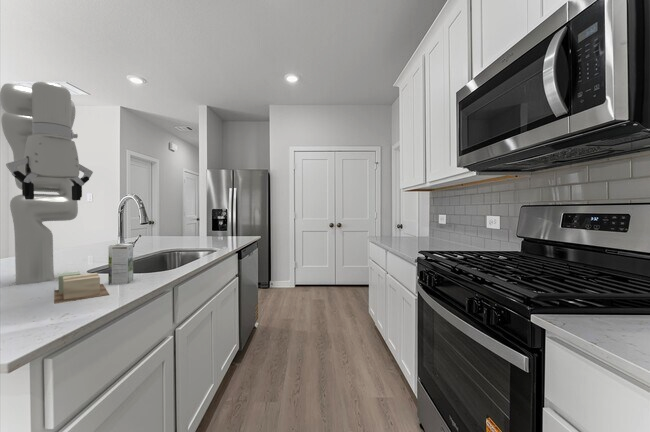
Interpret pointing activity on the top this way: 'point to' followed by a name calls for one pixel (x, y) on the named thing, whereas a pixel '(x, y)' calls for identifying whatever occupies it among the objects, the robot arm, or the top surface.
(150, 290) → the top surface
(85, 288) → the base block
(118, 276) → the syrup box
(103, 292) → the board
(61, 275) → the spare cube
